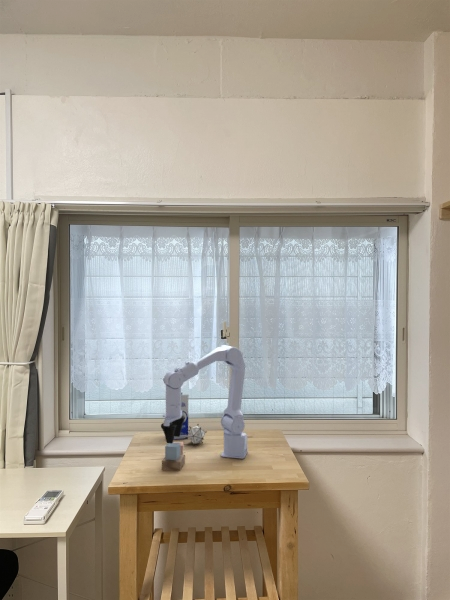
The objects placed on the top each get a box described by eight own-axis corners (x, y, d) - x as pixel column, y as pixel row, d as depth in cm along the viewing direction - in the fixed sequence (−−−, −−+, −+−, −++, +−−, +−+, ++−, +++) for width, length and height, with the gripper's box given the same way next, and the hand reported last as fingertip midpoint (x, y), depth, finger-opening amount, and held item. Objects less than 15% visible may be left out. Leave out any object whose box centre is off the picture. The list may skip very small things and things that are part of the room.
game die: (200, 453, 185) (210, 437, 181) (182, 447, 183) (191, 432, 178) (200, 436, 193) (209, 422, 188) (182, 431, 190) (191, 416, 186)
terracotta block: (183, 453, 174) (183, 441, 174) (182, 458, 170) (182, 445, 169) (172, 454, 174) (172, 441, 174) (171, 458, 169) (171, 445, 169)
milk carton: (172, 439, 191) (172, 395, 190) (171, 434, 197) (171, 391, 197) (188, 438, 192) (188, 394, 192) (186, 433, 199) (186, 390, 199)
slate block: (180, 456, 163) (180, 443, 163) (176, 460, 159) (176, 447, 159) (169, 455, 164) (169, 442, 164) (165, 459, 160) (165, 446, 160)
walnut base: (184, 464, 164) (184, 454, 164) (180, 471, 158) (180, 462, 157) (167, 462, 165) (167, 453, 165) (161, 470, 158) (161, 460, 158)
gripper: (170, 398, 169) (170, 432, 169) (155, 407, 155) (155, 445, 155) (187, 399, 167) (187, 434, 168) (174, 409, 153) (174, 446, 154)
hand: (173, 439), depth 161 cm, fingers open, 7 cm apart
